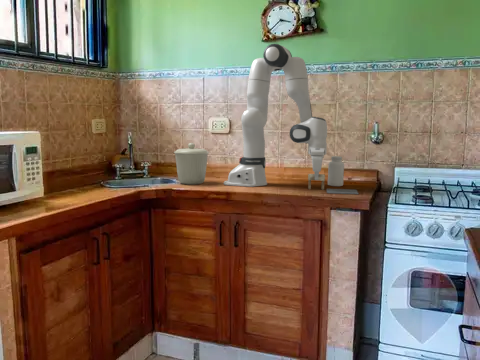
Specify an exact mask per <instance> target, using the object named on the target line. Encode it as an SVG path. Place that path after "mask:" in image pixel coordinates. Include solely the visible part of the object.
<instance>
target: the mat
mask: <svg viewBox="0 0 480 360" xmlns="http://www.w3.org/2000/svg"><path fill="white" fill-rule="evenodd" d="M326 194H334V195H335V194H336V195H337V194H338V195H339V194H340V195H341V194H342V195H359V192H358V190H357V189H346V188H345V189H344V188H326Z"/></svg>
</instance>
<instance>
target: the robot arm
mask: <svg viewBox="0 0 480 360" xmlns="http://www.w3.org/2000/svg"><path fill="white" fill-rule="evenodd" d="M262 55H263V57H258V58H255V59H254V60H253V61H252V63H251V66H250V69H249V73H248V81H247V87H246V110H244V111H243V113H242V114H241V118H240V119H241V130H242V131H241V132H242V140H243V141H242V142H243V147H242V150H243V151H242V153H243V154H242V156H241V157H239V160H238V161H239V162H238V163H239V164H238V165H237V166H236V167H234V168H233V169H231V170H230V172H229V173H228V177H227V180H224V182H223V185H225V186H233V187H235V186H237V187H238V186H239V187H259V186H260V187H261V186H267V185H268V182H267V176H266V163H267V161H266V160H267V159H266V156H265V154H266V153H265V152H266V141H265V129H264V128H265V126H266V124H267V121H268V113H269V112H268V110H269V94H270V87H271V86H270V85H271V79H272V78H271V77H272V74H273V72H277V71H280V70H281V71H283V74H284V83H285V89H286V93H287V95H288V97H289V98H291V99H292V100H293V102H295V104H296V106H297V108H298V114H299V120H300V122H299V123H297V124H294V125H292V126H291V127H290V130H289V138H290V140H291V141H292V142H294V143H295V144H308V145H307V146H308V147H307V148H308V149H307V153H308V154H307V155H310V158H311V164H312V165H311V166H312V172H314V173H313V174H315V180H314V181H319V180H318V176H319V174H320V172H321V171H322V164H323V159H324V157H325V156H326V155H327V151H328V148H327V146H328V144H327V137H328V124H327V123H328V122H327V120H326V119H325V118H323V117H319V116H313V111H312V104H311V98H310V92H309V91H310V90H309V76H308V70H307V65H306V63H305V62H306V61H305V60H304V59H303V58H302V57H300V56H293V54H292V52H291V51H290V50H289V49H288V48H287V47H285V46H284V45H282V44H279V43H271V44H268V45H267V46H266V47H265V49H264V51H263V54H262Z"/></svg>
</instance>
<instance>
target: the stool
mask: <svg viewBox="0 0 480 360" xmlns="http://www.w3.org/2000/svg"><path fill="white" fill-rule="evenodd" d="M307 175H308V176H307V180H308V181H307V184H308V186H307V188H308V190H311V189H312V188H311V187H312V181H316V180H315V174H314V173H307ZM325 179H326V175H325V174H324V173H319V176H318V180H317V181H321V185H320V186H321V190H322V191H325V181H326V180H325Z"/></svg>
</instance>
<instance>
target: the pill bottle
mask: <svg viewBox="0 0 480 360" xmlns="http://www.w3.org/2000/svg"><path fill="white" fill-rule="evenodd" d="M327 169H328V171H327V186H331V187H342V186H343V185H344V177H345V176H344V173H345V163H344V162H343V157H342V156H338V155H332V156H331V161H329V162H328V168H327Z"/></svg>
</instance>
